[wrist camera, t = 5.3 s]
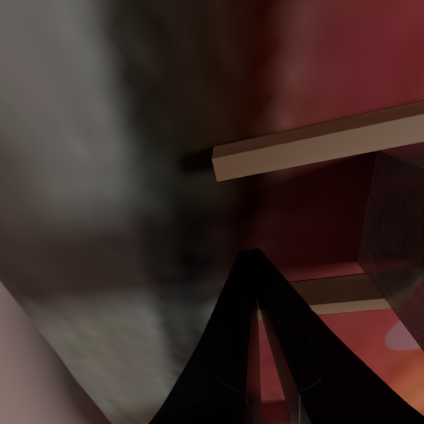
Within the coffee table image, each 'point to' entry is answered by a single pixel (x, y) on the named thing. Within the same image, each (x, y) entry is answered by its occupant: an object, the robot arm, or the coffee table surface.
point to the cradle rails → (316, 152)
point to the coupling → (397, 234)
